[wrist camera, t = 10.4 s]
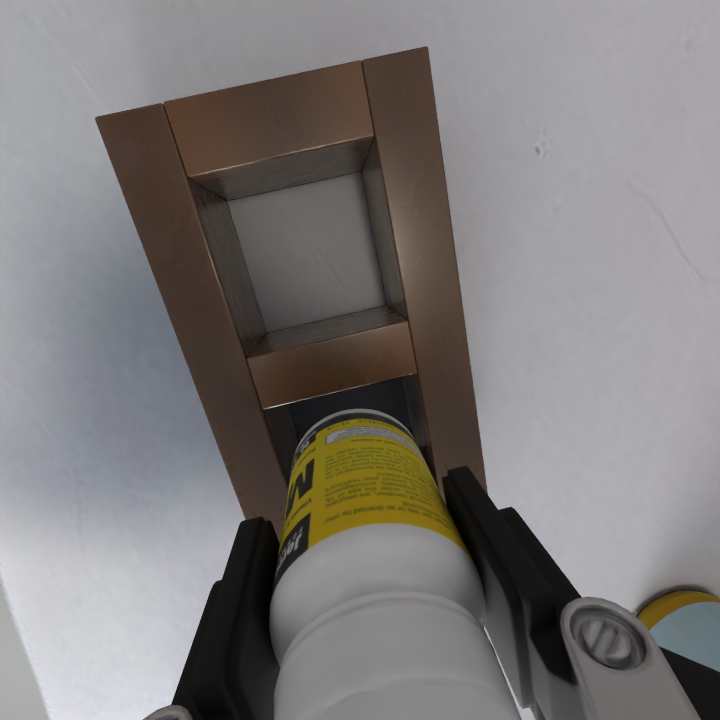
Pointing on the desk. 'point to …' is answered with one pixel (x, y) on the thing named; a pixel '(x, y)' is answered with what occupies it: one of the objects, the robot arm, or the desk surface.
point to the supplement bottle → (377, 587)
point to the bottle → (686, 625)
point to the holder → (232, 282)
